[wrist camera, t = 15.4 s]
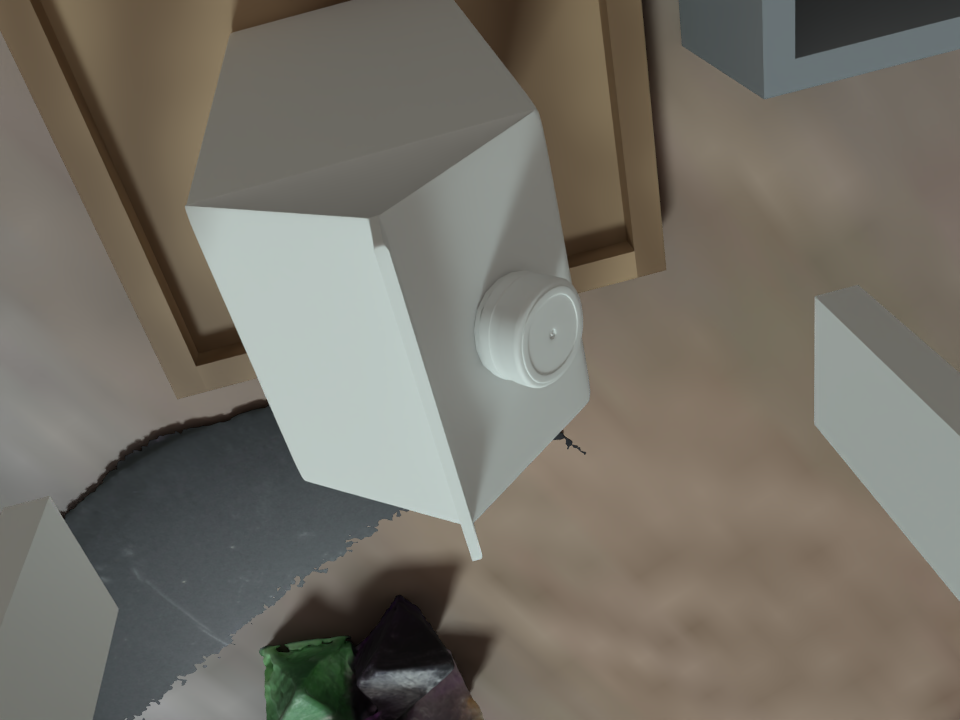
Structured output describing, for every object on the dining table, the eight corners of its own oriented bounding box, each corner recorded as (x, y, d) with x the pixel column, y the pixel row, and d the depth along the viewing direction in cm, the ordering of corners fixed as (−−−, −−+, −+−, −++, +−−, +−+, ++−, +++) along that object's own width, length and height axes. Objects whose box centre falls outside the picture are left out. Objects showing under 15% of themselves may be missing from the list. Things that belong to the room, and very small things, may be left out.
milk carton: (298, 224, 34) (303, 611, 18) (227, 31, 30) (154, 307, 14) (482, 173, 34) (650, 510, 18) (436, -26, 30) (601, 182, 14)
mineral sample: (200, 910, 58) (197, 1075, 51) (-171, 548, 39) (-267, 729, 31) (696, 705, 60) (765, 836, 52) (580, 257, 40) (663, 361, 32)
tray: (597, -264, 28) (616, -267, 26) (649, 248, 38) (666, 270, 36) (-43, -111, 27) (-64, -104, 25) (182, 371, 37) (177, 399, 35)
